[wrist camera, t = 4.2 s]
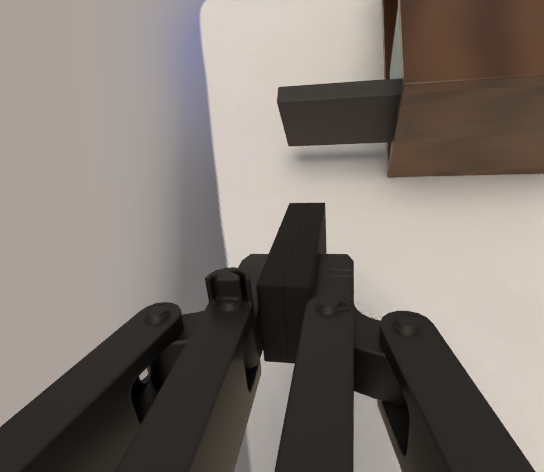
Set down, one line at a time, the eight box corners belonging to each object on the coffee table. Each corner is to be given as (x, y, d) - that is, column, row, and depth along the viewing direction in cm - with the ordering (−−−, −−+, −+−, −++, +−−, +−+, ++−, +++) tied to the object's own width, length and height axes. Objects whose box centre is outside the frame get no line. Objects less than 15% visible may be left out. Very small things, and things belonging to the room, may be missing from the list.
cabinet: (387, 177, 30) (404, 84, 20) (382, -1, 36) (393, -135, 26) (551, 173, 27) (653, 67, 18) (516, -16, 33) (580, -167, 24)
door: (291, 160, 30) (272, 91, 23) (296, 78, 33) (280, -6, 26) (401, 156, 29) (418, 80, 22) (397, 71, 31) (411, -21, 24)
